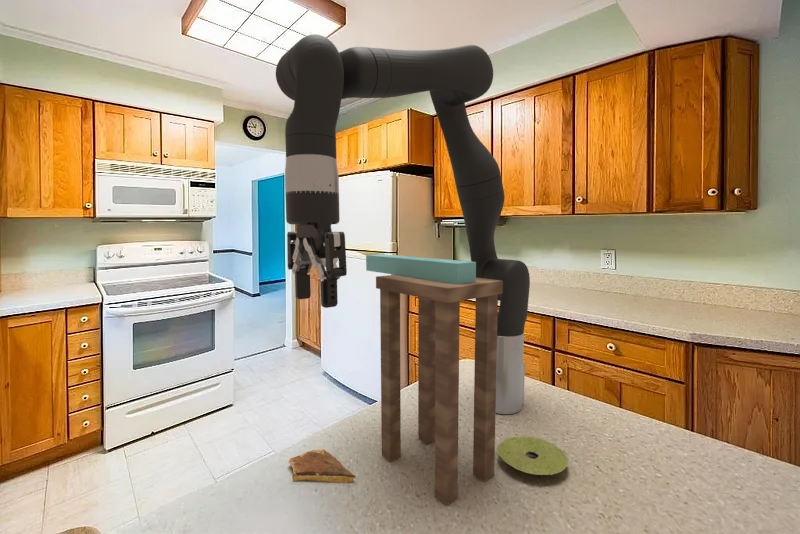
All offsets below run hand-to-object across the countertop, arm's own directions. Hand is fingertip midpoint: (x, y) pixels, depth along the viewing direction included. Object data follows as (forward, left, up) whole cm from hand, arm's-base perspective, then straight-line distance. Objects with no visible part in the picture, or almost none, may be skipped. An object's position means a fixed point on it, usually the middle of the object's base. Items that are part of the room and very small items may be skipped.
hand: (315, 302), depth 57 cm
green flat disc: (-31, +17, -30) cm, 46 cm away
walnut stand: (-18, +7, -29) cm, 35 cm away
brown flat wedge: (-3, -5, -30) cm, 30 cm away
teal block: (-18, +1, +3) cm, 18 cm away
